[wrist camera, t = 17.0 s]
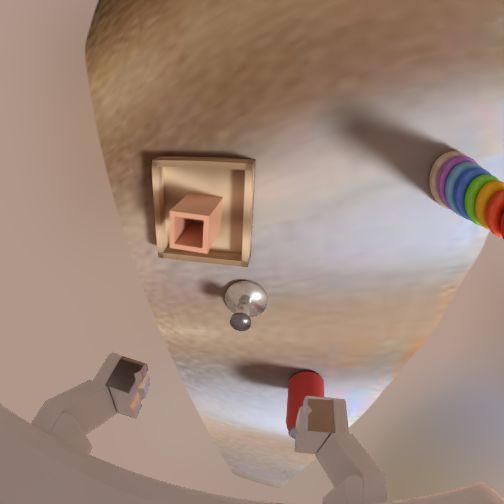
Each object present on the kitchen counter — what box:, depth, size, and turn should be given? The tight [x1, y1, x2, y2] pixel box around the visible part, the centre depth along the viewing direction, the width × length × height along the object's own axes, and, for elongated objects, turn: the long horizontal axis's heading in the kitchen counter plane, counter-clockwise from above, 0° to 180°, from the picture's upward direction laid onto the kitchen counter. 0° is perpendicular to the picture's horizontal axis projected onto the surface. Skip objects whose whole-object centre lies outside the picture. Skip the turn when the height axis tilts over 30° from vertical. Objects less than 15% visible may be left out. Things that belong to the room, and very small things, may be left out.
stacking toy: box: [429, 151, 504, 239], centre depth 26 cm, size 8×8×19 cm
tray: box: [152, 156, 255, 267], centre depth 39 cm, size 14×13×3 cm
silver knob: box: [225, 280, 267, 331], centre depth 44 cm, size 6×6×6 cm
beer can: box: [286, 371, 324, 439], centre depth 48 cm, size 7×7×12 cm
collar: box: [170, 193, 223, 254], centre depth 37 cm, size 5×5×7 cm
